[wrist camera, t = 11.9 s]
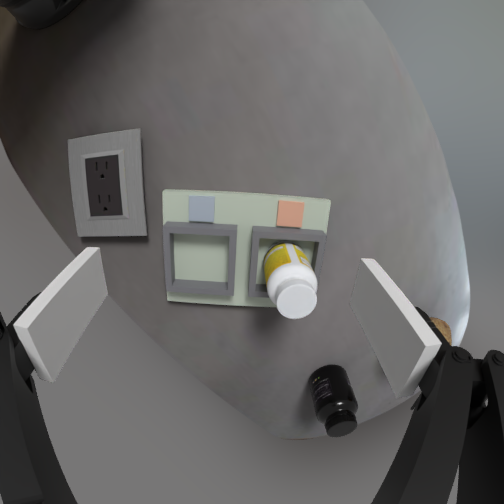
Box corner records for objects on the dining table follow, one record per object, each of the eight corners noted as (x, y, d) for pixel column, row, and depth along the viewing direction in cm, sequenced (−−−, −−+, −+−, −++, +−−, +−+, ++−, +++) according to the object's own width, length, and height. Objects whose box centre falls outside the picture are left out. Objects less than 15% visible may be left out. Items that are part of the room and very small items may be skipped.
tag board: (165, 189, 34) (157, 194, 31) (328, 199, 35) (335, 205, 32) (169, 296, 39) (164, 308, 37) (310, 303, 40) (315, 316, 37)
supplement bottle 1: (259, 276, 37) (264, 322, 28) (266, 237, 35) (274, 273, 26) (300, 281, 38) (316, 326, 29) (309, 243, 36) (330, 280, 27)
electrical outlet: (151, 230, 36) (146, 236, 34) (84, 231, 36) (76, 237, 34) (145, 128, 31) (139, 128, 29) (75, 139, 31) (66, 140, 29)
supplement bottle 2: (353, 369, 46) (372, 421, 35) (328, 392, 48) (342, 443, 37) (325, 358, 45) (343, 413, 34) (300, 382, 47) (311, 437, 36)
